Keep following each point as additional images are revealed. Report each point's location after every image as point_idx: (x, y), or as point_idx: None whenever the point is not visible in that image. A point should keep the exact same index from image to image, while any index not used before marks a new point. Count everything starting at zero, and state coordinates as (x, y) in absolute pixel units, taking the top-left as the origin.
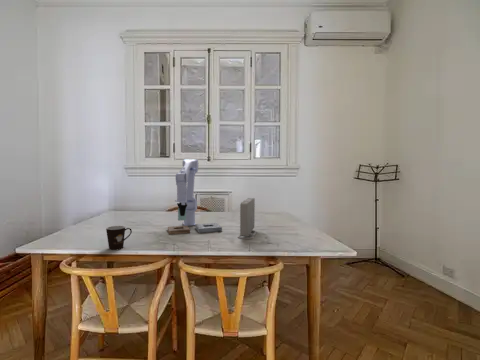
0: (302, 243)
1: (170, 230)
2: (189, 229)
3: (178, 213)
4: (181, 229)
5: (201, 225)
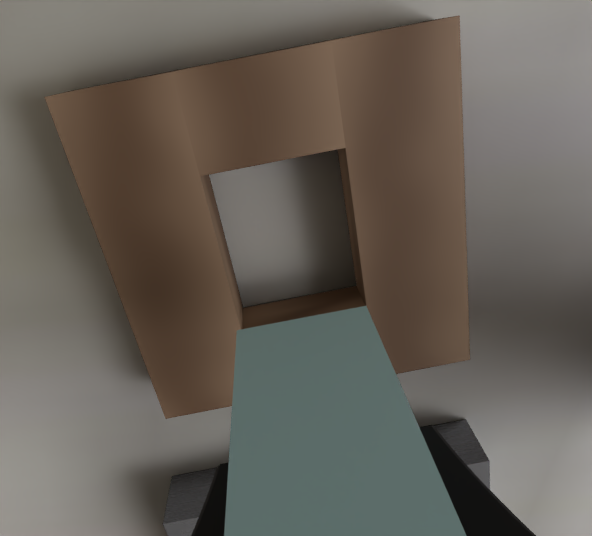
0: None
1: (86, 122)
2: (172, 412)
3: (229, 470)
4: (175, 305)
5: None
